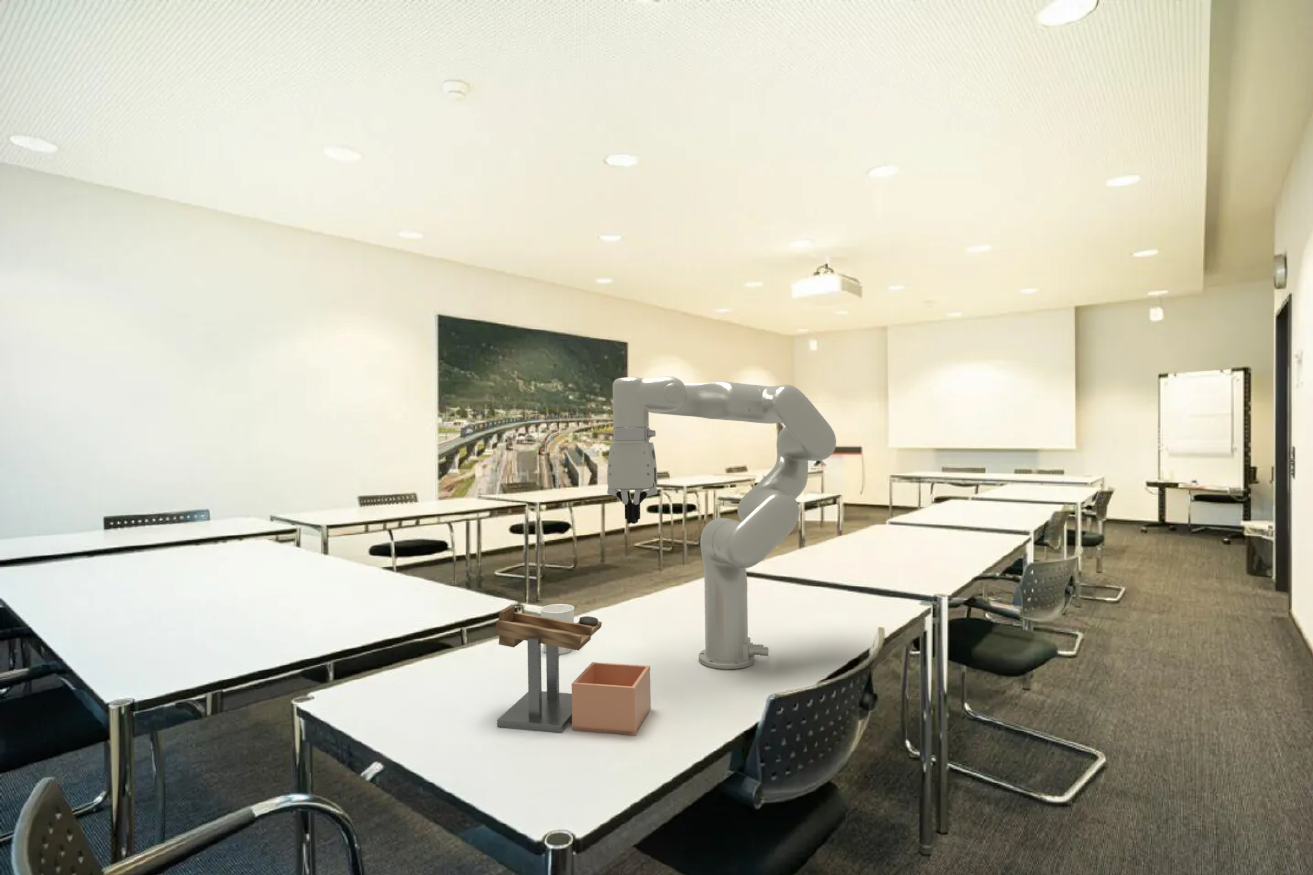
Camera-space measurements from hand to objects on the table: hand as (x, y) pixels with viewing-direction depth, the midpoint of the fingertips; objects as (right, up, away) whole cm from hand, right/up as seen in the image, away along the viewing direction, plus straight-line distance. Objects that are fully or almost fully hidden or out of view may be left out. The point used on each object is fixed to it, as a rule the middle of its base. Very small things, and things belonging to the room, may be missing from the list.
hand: (632, 522), depth 145 cm
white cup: (-18, -33, +17) cm, 41 cm away
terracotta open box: (-3, -32, -23) cm, 39 cm away
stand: (-15, -32, -20) cm, 41 cm away
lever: (-15, -20, -16) cm, 30 cm away
